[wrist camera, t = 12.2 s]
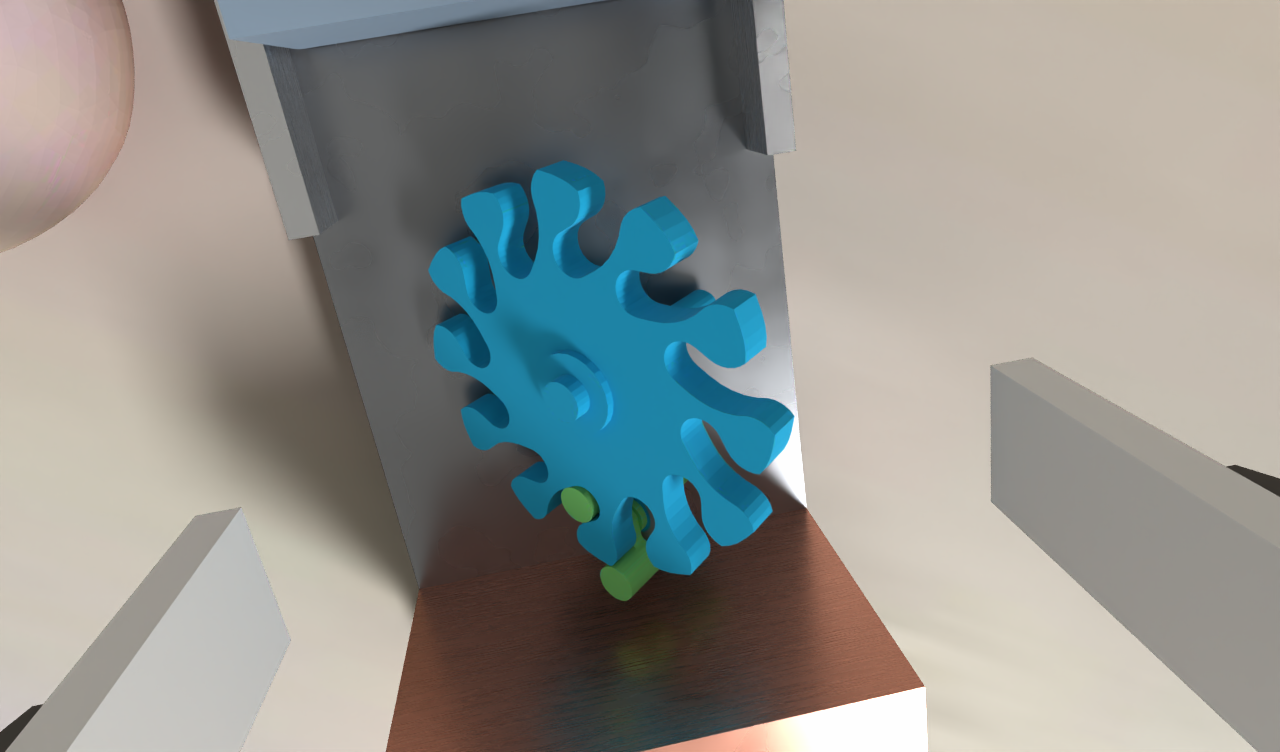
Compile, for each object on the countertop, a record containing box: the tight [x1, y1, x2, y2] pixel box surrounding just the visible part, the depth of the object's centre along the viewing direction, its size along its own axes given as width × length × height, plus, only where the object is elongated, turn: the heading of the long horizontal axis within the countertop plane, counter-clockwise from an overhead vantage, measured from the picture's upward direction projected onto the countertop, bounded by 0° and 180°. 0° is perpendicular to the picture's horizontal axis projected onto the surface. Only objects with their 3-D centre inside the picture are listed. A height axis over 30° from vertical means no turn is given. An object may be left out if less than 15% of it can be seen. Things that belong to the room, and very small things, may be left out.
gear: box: [428, 160, 795, 601], centre depth 20 cm, size 11×6×10 cm
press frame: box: [214, 0, 927, 752], centre depth 19 cm, size 12×24×10 cm, turn 9°
